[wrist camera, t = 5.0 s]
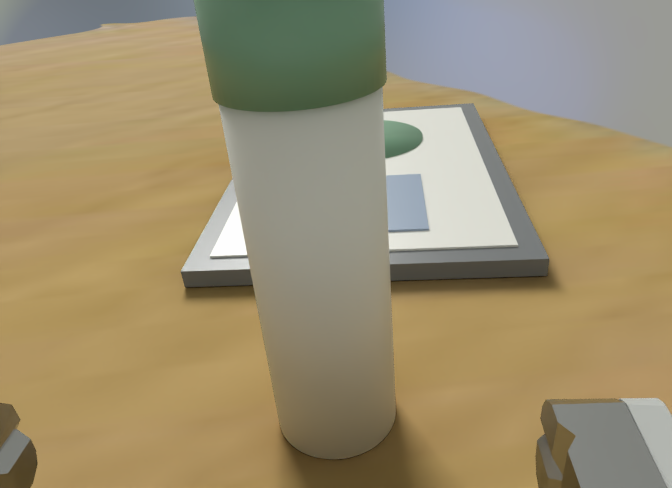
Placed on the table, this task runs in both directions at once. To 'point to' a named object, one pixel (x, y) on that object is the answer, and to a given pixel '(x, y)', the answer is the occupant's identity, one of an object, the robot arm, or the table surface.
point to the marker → (312, 205)
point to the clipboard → (415, 208)
